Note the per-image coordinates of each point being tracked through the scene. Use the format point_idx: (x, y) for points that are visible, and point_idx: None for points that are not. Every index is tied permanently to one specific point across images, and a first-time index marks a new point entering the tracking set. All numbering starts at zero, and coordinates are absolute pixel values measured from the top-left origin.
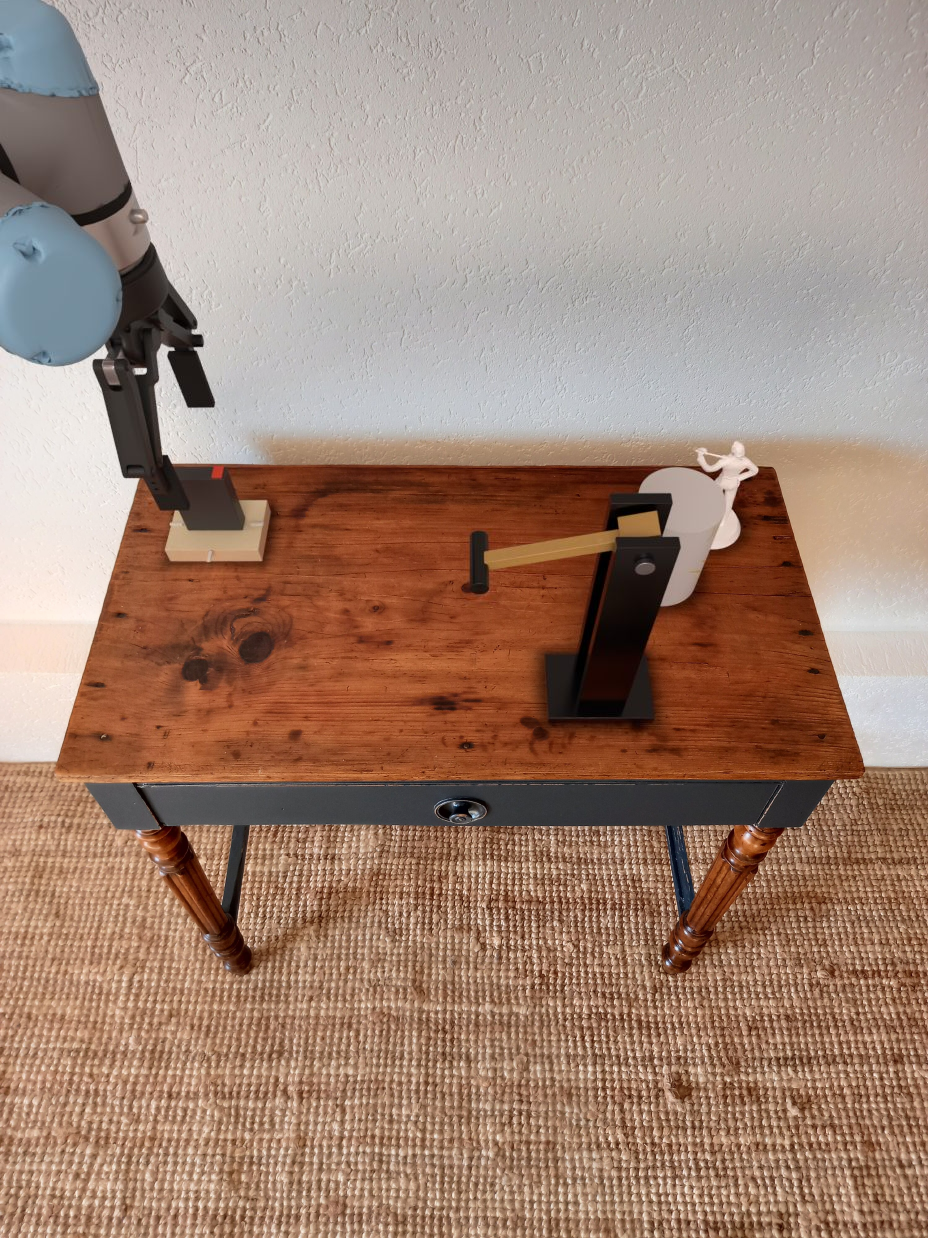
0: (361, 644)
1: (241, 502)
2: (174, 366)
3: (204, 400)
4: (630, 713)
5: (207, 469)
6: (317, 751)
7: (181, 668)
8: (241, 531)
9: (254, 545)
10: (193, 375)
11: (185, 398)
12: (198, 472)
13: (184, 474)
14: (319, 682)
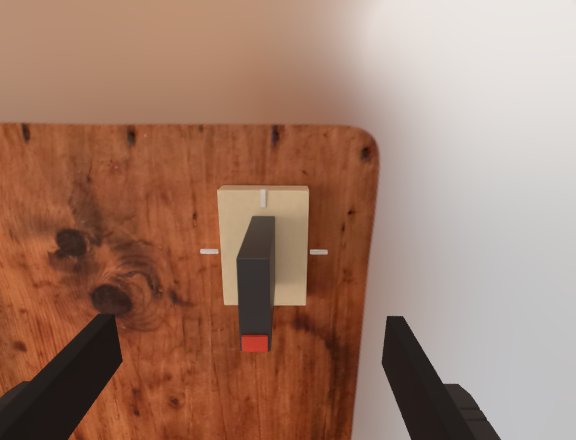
0: (131, 392)
1: (302, 276)
2: (435, 423)
3: (388, 366)
4: None
5: (262, 325)
6: (8, 365)
7: (69, 227)
8: None
9: (230, 300)
10: (415, 428)
11: (394, 336)
12: (255, 312)
13: (250, 290)
14: None
